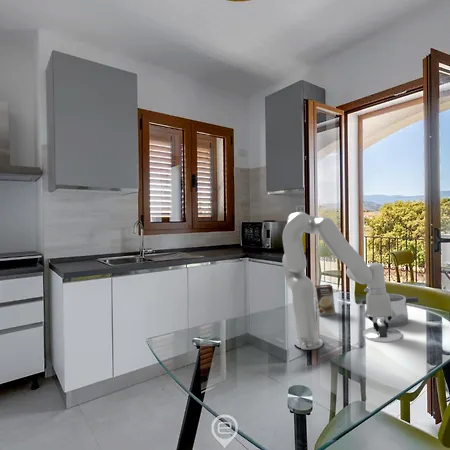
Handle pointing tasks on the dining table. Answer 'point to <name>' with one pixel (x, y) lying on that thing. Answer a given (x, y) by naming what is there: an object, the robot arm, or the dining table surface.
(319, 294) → the coffee box
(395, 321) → the pot
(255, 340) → the dining table surface
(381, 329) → the lid
